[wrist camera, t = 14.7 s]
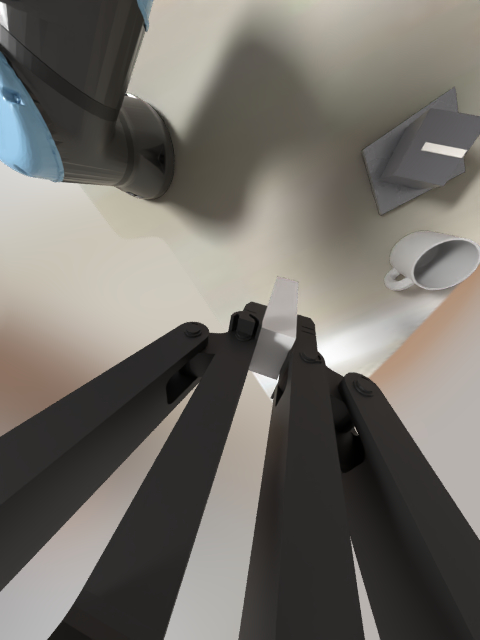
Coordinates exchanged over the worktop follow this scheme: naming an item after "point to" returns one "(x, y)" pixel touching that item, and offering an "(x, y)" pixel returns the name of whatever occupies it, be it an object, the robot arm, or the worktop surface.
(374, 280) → the worktop surface
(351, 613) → the robot arm
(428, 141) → the dark grey cube
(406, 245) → the cup
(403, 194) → the base plate
